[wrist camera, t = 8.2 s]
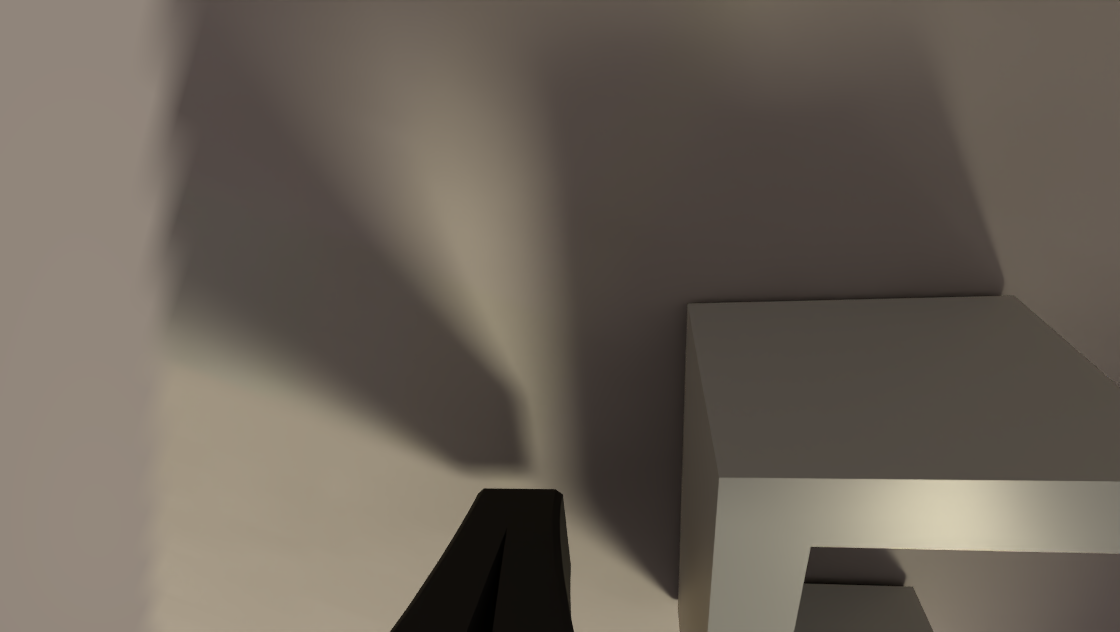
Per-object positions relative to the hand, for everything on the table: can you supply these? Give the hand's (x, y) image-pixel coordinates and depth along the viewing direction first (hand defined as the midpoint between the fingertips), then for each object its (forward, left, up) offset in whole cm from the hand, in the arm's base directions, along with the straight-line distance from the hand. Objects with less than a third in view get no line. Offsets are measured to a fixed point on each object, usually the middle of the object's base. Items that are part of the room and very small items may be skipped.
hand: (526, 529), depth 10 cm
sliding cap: (0, -5, -1) cm, 5 cm away
